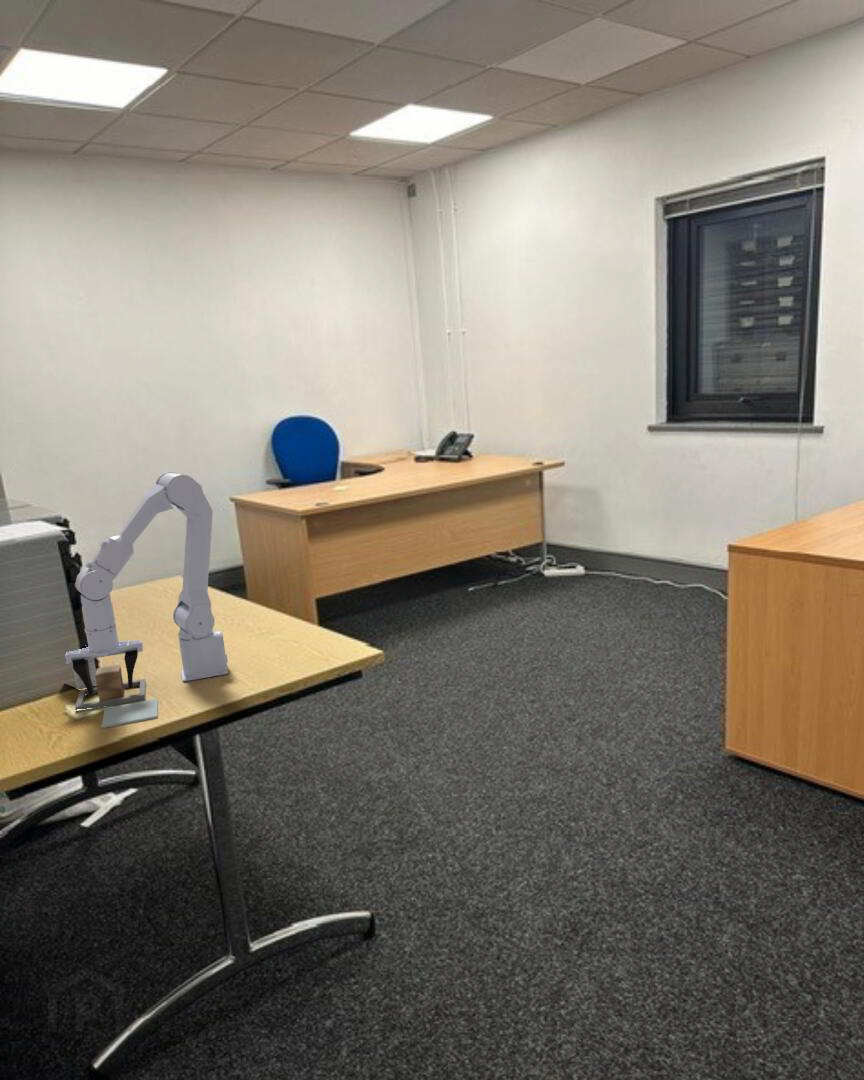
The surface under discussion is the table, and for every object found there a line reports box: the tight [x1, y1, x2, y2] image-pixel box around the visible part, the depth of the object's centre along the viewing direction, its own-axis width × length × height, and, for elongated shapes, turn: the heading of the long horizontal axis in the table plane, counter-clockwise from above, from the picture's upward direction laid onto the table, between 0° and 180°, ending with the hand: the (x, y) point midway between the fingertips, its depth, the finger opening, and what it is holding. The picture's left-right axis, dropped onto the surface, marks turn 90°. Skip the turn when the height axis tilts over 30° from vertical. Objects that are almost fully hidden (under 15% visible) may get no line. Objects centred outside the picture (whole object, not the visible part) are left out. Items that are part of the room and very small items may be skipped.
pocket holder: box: [74, 678, 147, 711], centre depth 161 cm, size 13×10×1 cm
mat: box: [101, 698, 159, 729], centre depth 152 cm, size 10×9×1 cm
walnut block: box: [95, 664, 125, 701], centre depth 161 cm, size 4×4×6 cm
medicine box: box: [72, 658, 97, 689], centre depth 168 cm, size 8×4×9 cm, turn 48°
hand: (111, 689), depth 161 cm, fingers open, 7 cm apart
